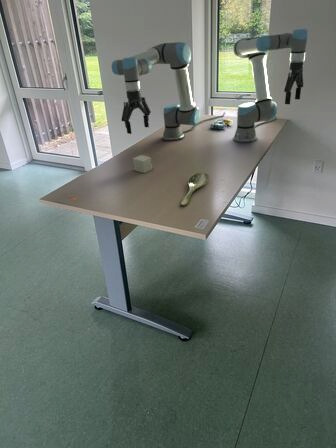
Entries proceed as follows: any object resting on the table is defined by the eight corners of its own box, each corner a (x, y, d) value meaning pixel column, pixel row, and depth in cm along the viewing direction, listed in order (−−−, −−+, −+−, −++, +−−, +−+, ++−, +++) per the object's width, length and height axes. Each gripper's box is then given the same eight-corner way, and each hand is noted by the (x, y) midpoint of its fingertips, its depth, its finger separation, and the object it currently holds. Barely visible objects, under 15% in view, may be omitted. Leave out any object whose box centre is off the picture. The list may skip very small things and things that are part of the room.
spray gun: (235, 122, 269) (217, 122, 276) (235, 117, 267) (217, 117, 273) (227, 130, 254) (208, 130, 260) (227, 125, 252) (208, 124, 258)
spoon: (193, 209, 156) (193, 205, 155) (172, 207, 159) (171, 203, 158) (212, 175, 182) (212, 172, 181) (193, 174, 186) (193, 170, 184)
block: (142, 166, 204) (140, 155, 200) (151, 169, 199) (150, 157, 195) (134, 170, 200) (132, 158, 196) (144, 173, 195) (142, 161, 191)
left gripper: (144, 85, 186) (148, 123, 197) (110, 94, 171) (117, 135, 182) (154, 86, 181) (158, 125, 192) (120, 95, 166) (126, 137, 177)
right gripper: (299, 58, 194) (295, 96, 205) (280, 64, 178) (276, 105, 189) (312, 58, 189) (307, 97, 200) (293, 64, 174) (289, 106, 185)
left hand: (138, 130), depth 187 cm, fingers open, 13 cm apart
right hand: (292, 101), depth 195 cm, fingers open, 13 cm apart
